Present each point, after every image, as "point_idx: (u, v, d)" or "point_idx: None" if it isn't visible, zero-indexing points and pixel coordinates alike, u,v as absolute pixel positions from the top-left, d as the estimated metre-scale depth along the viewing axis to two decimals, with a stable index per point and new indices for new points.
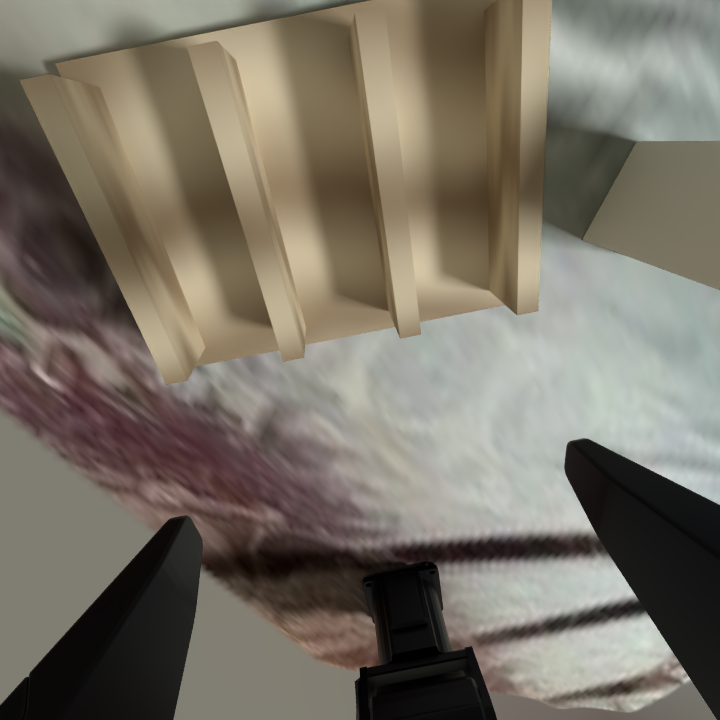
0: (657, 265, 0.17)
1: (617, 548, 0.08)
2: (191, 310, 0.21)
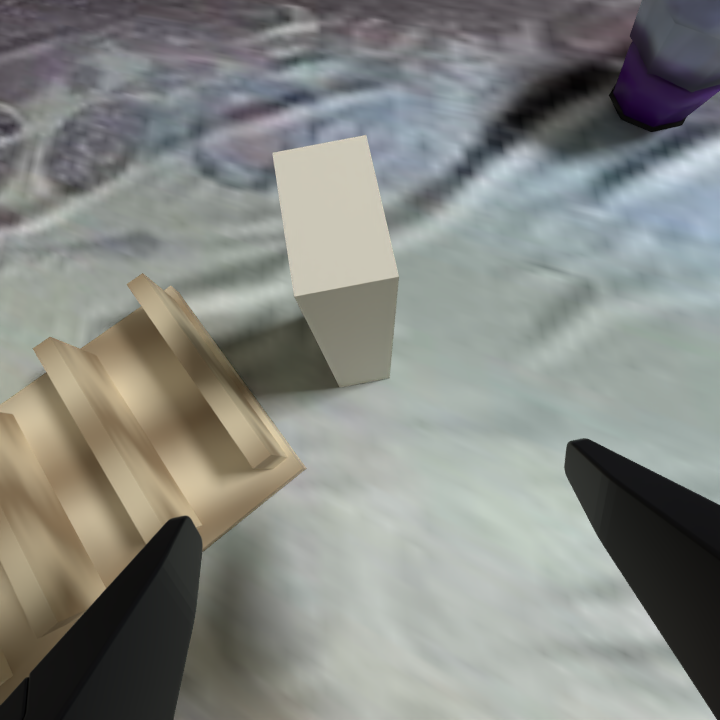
0: (327, 362, 0.19)
1: (617, 548, 0.08)
2: None
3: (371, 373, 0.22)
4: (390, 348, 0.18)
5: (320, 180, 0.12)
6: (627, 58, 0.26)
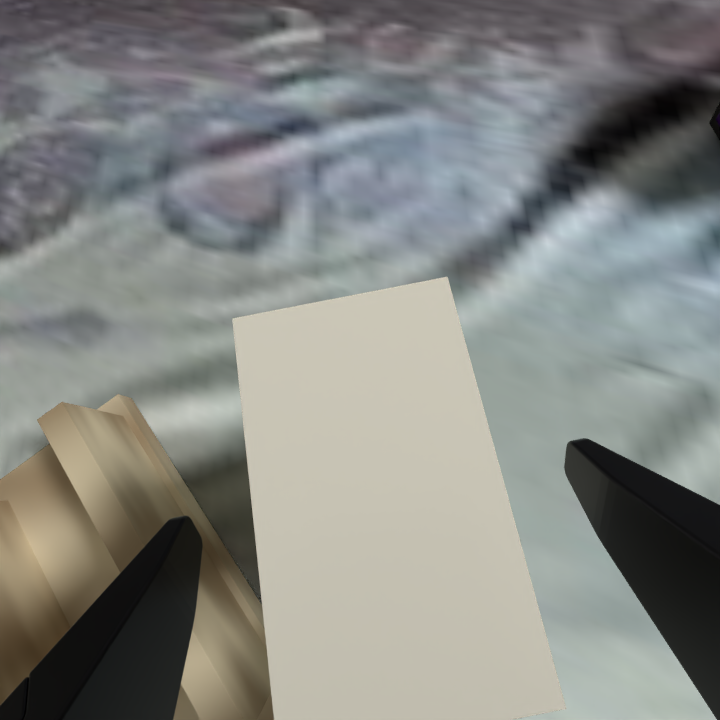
0: None
1: (617, 548, 0.08)
2: None
3: None
4: None
5: (344, 395, 0.05)
6: None
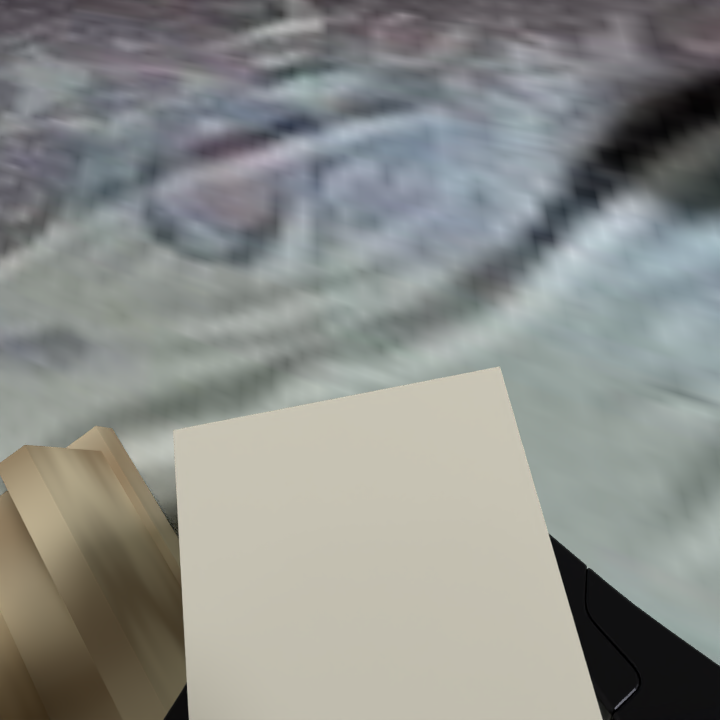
0: None
1: None
2: None
3: None
4: None
5: (341, 564, 0.03)
6: None
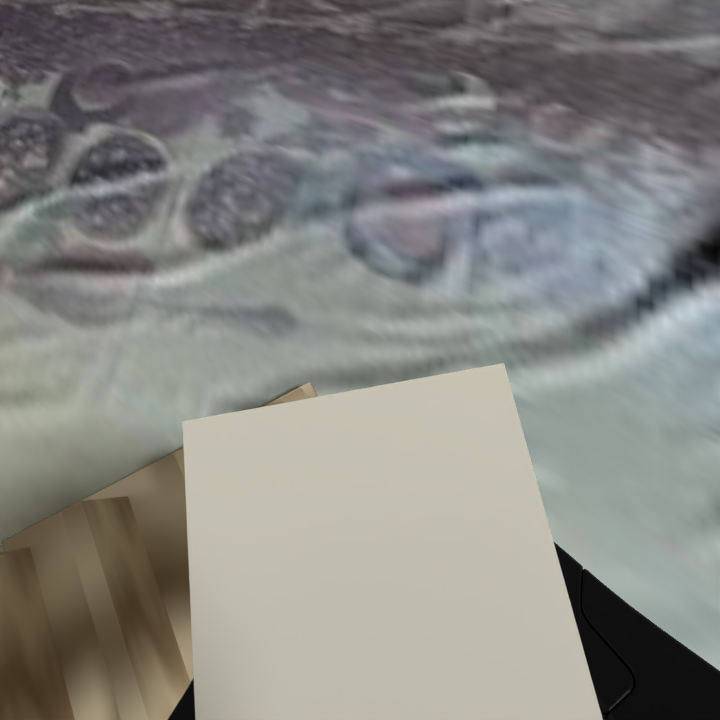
0: None
1: None
2: None
3: None
4: None
5: (345, 554, 0.03)
6: None
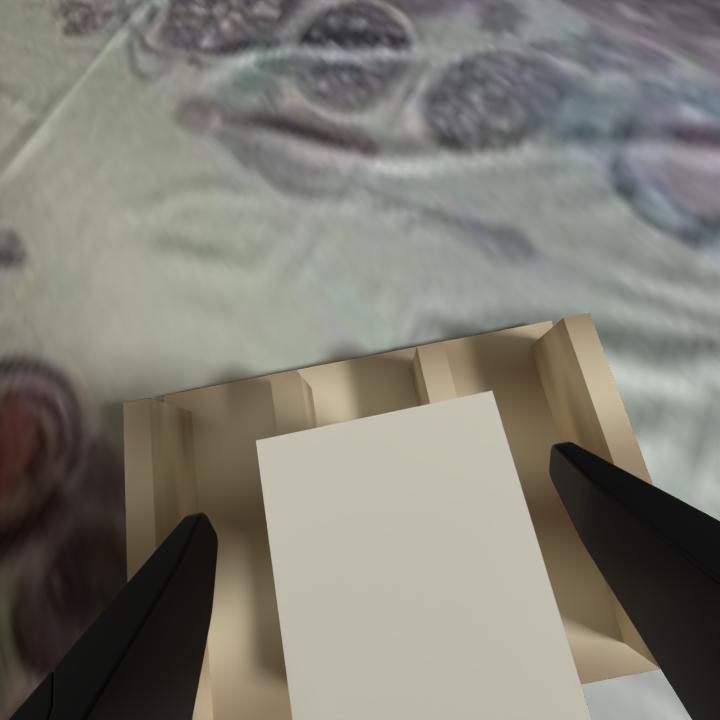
0: None
1: (599, 551, 0.08)
2: (210, 656, 0.16)
3: None
4: None
5: (384, 533, 0.05)
6: None
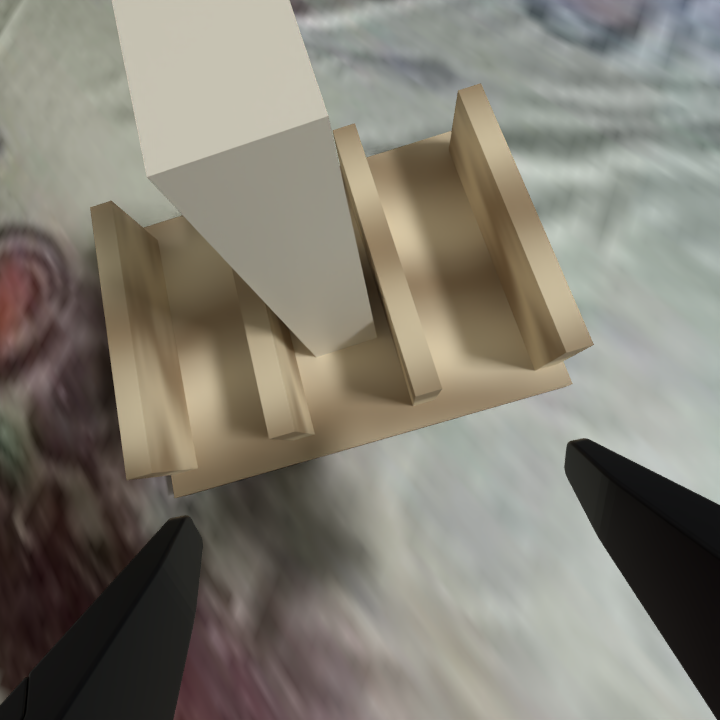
0: (281, 319, 0.14)
1: (617, 548, 0.08)
2: (190, 421, 0.19)
3: (350, 332, 0.17)
4: (363, 288, 0.13)
5: None
6: None
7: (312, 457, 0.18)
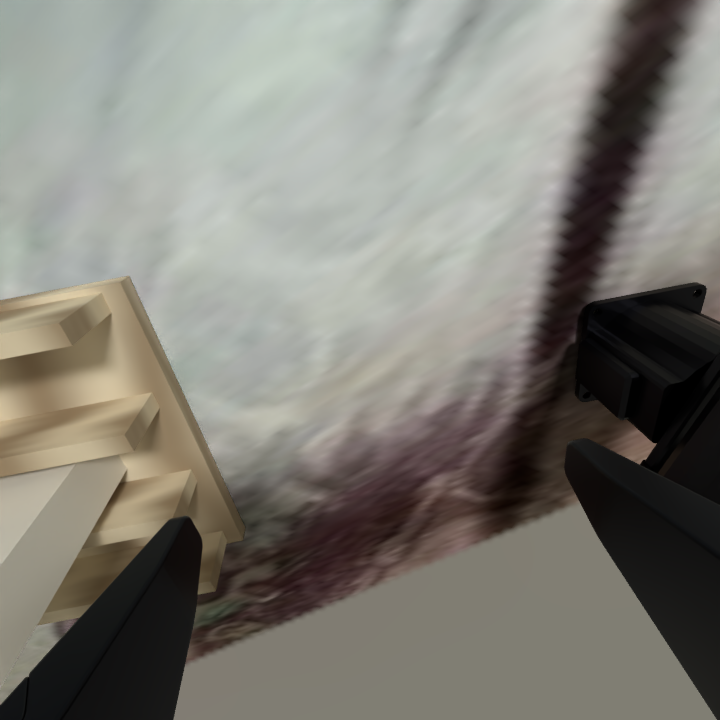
0: (76, 554, 0.19)
1: (617, 548, 0.08)
2: None
3: (93, 469, 0.21)
4: (34, 522, 0.17)
5: None
6: None
7: (209, 470, 0.24)
